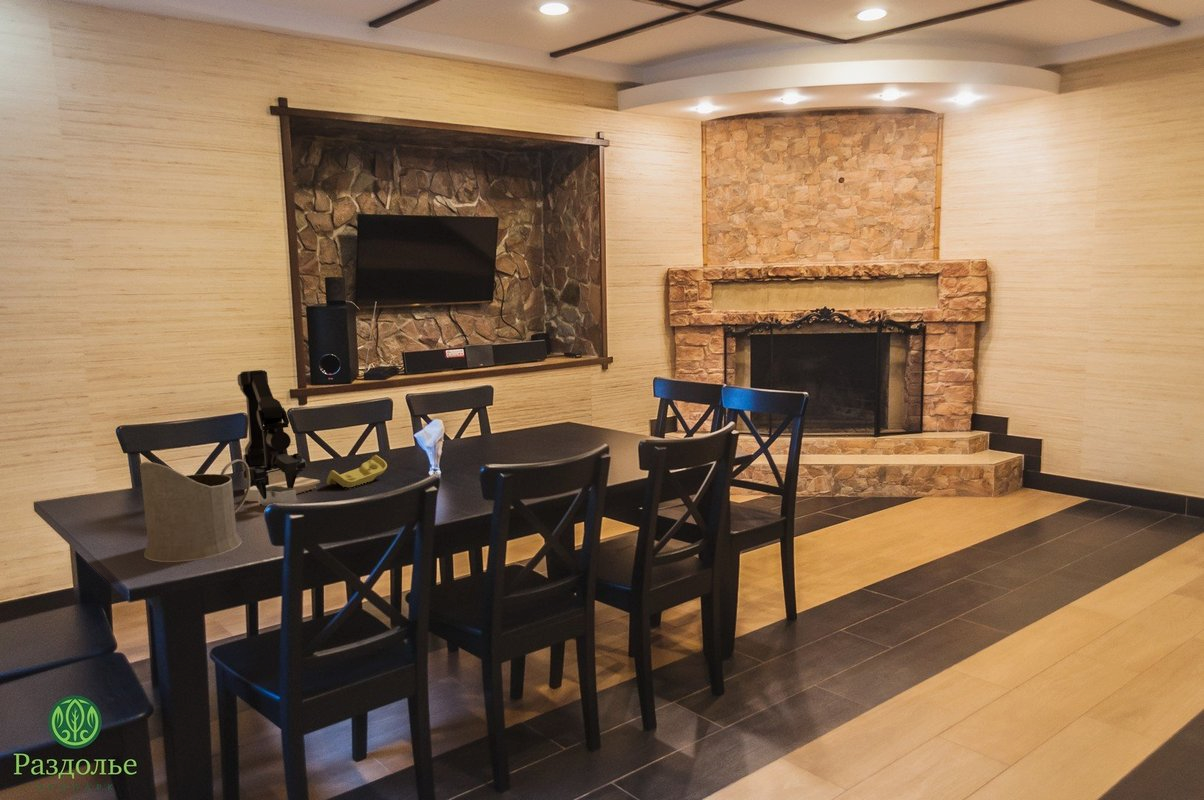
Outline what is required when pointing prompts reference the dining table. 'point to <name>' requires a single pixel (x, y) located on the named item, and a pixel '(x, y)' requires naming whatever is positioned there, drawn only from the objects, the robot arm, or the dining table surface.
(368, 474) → the plastic component
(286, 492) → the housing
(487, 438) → the dining table surface
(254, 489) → the parts box
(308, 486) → the stand
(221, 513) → the pitcher
